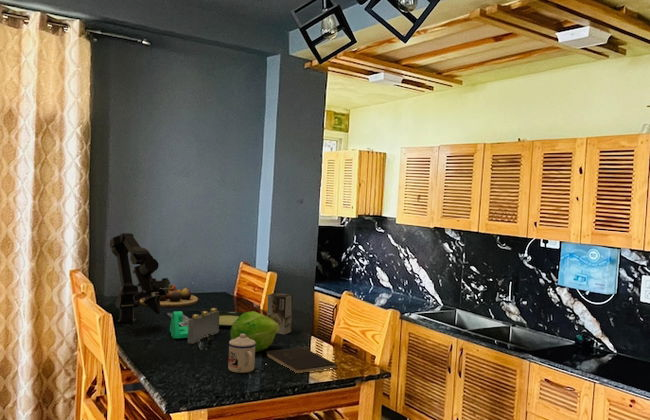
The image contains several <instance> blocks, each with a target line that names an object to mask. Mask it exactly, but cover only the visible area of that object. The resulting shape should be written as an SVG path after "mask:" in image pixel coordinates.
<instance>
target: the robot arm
mask: <svg viewBox="0 0 650 420" xmlns="http://www.w3.org/2000/svg"><path fill="white" fill-rule="evenodd" d="M109 247H110V250H111V252H112V255H114V257H116V260H117V266H118V267H117V268H118V273H119V279H120V285H121V288H120V290H119V292H118V296H117V298H116V300H115V307H116V308H117V309H119V319H118V320H117V321H116V322H117V323H126V324H127V323H129V324H131V323H134V322H135V321H136V320H137V319H136V318H134V316H135V315H134V314H135V308H139V306H140V304H139V302H140V299H142V298H146V299H145V301H143V303H145V304H146V305H147V306H146V307H148V308H150V309H151V310H152V311H153V312H154V313H155V314H156V315H160V314H161V313H162V311H161V307H160V299H161V297H163V296H165V295H167V294H169V292H168V289H166V288H169V285H171V281H170V279H169V278H168V277H162V279H161V280H157V278H154V277H153V276H152V275H153V274H154V273H155V272H156V271H157V270H158V269H159V266H160V265H159V262H158V261H157V259H156V258H154V257H153V255H152V254H151V253H150V251H149V250H148V249H146V248H144V247H141V245H140V244H139V243H138V241H137V240H136V239H135V237H134V234H133V233H131V232H130V233H129V232H125V233H120V234H119V235H116V236H113V237H112V239H110V241H109ZM129 253H130V257H129ZM130 262H131V263H132V265H137V266H134V269H133V271H131V267H130V266H131V265H130ZM132 273H133V274H134V275H135V277H136V280H137V282H138V283H137V285H135V284H134V283H133V277H132ZM139 287H140V290H141V291H139Z"/></svg>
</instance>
